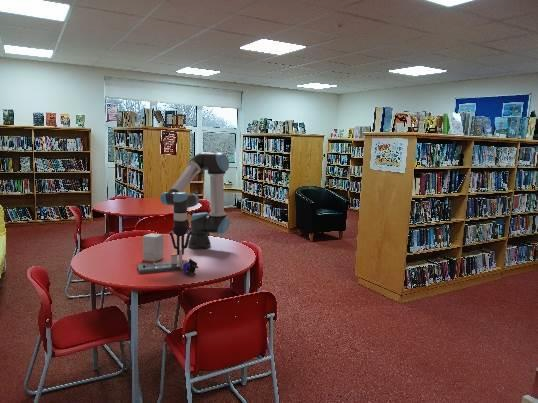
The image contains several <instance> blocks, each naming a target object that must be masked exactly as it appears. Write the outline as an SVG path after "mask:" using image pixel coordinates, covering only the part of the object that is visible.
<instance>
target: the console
mask: <svg viewBox="0 0 538 403" xmlns="http://www.w3.org/2000/svg"><path fill="white" fill-rule="evenodd" d="M185 260H186V261H187V262H189V260H188V259H185ZM179 263H180V261H179V260H177V264H171V260H167V261H156V262H154V261H153V262H145V263H144V262H142V263H137V270H138V274H139V275H140V274H152V273H160V272H161V273H162V272H163V273H164V272H174V271H184V269H181V268H180V267H179Z"/></svg>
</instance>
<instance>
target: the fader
mask: <svg viewBox="0 0 538 403" xmlns="http://www.w3.org/2000/svg"><path fill="white" fill-rule="evenodd" d="M170 261H171V264H177V261H178V255H177V252H175V253H170Z"/></svg>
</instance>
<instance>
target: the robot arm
mask: <svg viewBox="0 0 538 403" xmlns="http://www.w3.org/2000/svg"><path fill="white" fill-rule="evenodd" d="M229 167H230V161H229V157H228V156H227V154H225V153H223V152H215V151H214V152H213V151H211V152H207V151H203V152H199V153H197V154H196V155H194V156H193V157H191V158H190V159H189V160H188V162H187V164H186V167H185V169H184V170H183V171H182V173H181V174H180V175H179V177H178V178H177V179H176V181H175V182H174V183H173V184H172V186H171V188H169V190H168V191H165V192H162V193H161V195H160V198H159V199H160V202H161V204H163V205H166V206H173V228H172V230H171V231H169V232H168V234H169V236H170V239H171V241H172V242H171V243H172V246H173V249H174V250H176V253H177V256H178V261H182V260H183V256H184V254H185V249H187V248H189V249H194V250H195V249H196V250H203V249H209V248H211V245H212V244H211V241H210V237H209V233H210V234H217V235H223V234H226V233H227V232H228V230H229V227H230V222H231V221H230V220H231V219H230V218H229V217H228V216H227V213H226V211H225V200H224V199H225V197H224V195H225V194H224V193H225V192H224V186H225V185H224V176H225V174H226V173H227V171H229ZM201 171H207V174H208V175H209V180H210V212H197V213H193V214H191V217H190V230H189V228H188V208H192V207H195V206H197V205H198V204H199V202H200V199H199V196H198V195H197V194H196V193H187V192H186V189H188V186H189V185H190V184H191V182H192V181H193V179H194V178H195V177H196V175H197V174H200V172H201ZM174 234H175V236H176V241H175V237H174ZM185 235H186V237H185ZM185 238H186V239H185ZM180 243H181V245H180ZM180 246H181V248H180Z"/></svg>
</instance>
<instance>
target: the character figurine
mask: <svg viewBox="0 0 538 403" xmlns="http://www.w3.org/2000/svg"><path fill="white" fill-rule="evenodd" d="M186 260H187V259H182V261H180V263H179V267H180V268H181V269H184V270H183V272H184V275H189V276H196V269H199V266H198V263H197V262H196V261H194V260H193V259H191V258H189V260H188V262H187V261H186Z"/></svg>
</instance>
